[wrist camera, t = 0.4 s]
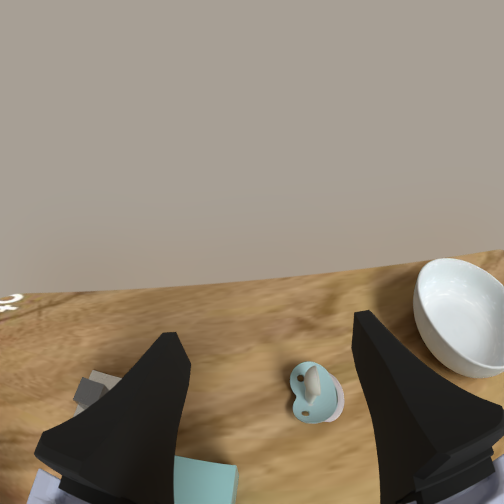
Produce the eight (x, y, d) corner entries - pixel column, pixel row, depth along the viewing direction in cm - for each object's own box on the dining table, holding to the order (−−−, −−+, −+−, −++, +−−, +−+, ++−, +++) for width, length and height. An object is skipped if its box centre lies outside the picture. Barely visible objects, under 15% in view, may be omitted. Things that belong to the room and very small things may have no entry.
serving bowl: (453, 424, 21) (487, 398, 17) (373, 310, 37) (388, 274, 33) (517, 354, 26) (540, 326, 22) (451, 277, 42) (465, 247, 38)
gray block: (148, 472, 19) (120, 458, 15) (68, 441, 20) (33, 417, 15) (168, 392, 27) (151, 360, 23) (95, 373, 28) (70, 339, 23)
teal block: (232, 522, 15) (227, 527, 11) (174, 511, 16) (153, 511, 12) (238, 474, 20) (236, 465, 16) (183, 466, 20) (165, 453, 16)
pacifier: (335, 369, 30) (286, 372, 30) (352, 339, 26) (295, 342, 26) (347, 424, 24) (292, 431, 24) (369, 402, 20) (305, 410, 20)
